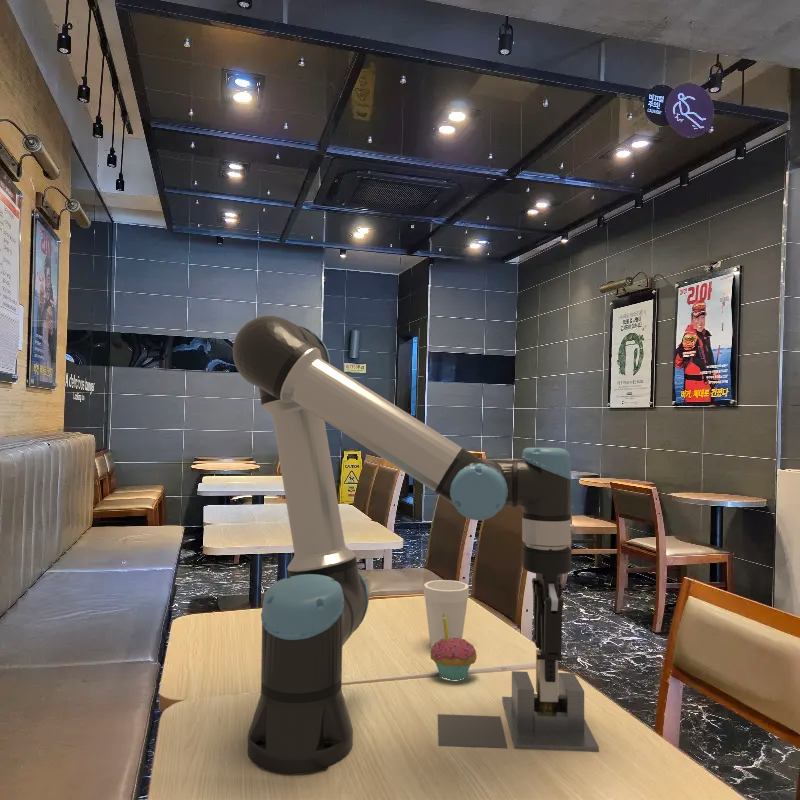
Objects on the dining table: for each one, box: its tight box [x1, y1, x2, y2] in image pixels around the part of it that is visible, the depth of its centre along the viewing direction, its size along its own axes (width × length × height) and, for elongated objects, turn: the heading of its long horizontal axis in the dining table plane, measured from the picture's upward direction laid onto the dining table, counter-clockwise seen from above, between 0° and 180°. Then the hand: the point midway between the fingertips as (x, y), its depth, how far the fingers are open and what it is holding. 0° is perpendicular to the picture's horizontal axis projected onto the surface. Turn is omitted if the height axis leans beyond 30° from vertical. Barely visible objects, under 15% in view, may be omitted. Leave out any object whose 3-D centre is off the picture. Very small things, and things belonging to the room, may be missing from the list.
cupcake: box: [430, 614, 477, 680], centre depth 118 cm, size 9×8×12 cm
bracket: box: [501, 670, 600, 753], centre depth 99 cm, size 12×16×7 cm
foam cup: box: [423, 579, 470, 648], centre depth 134 cm, size 10×9×13 cm
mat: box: [437, 713, 509, 749], centre depth 96 cm, size 10×10×1 cm
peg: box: [536, 652, 557, 712], centre depth 99 cm, size 3×3×10 cm
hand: (546, 696), depth 99 cm, fingers closed on peg, 2 cm apart
